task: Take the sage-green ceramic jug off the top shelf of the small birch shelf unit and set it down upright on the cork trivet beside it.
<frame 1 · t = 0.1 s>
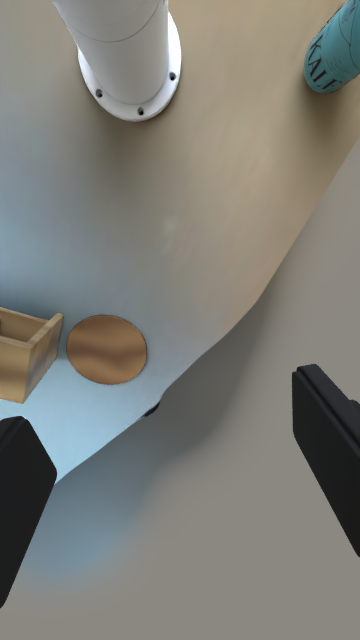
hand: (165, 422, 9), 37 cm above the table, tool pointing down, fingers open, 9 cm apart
beverage bottle: (320, 69, 34), on the table
shelf unit: (8, 324, 47), on the table
trivet: (107, 350, 50), on the table
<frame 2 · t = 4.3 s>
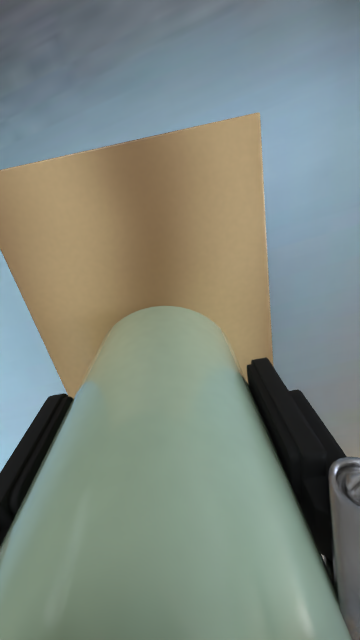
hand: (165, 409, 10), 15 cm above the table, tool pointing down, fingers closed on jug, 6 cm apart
shelf unit: (168, 290, 23), on the table
jug: (166, 368, 12), point 12 cm above the table, touching gripper, shelf unit
when the fingers open (3 cm above the table, at t = 12.1 s): jug stays where it is, resting on trivet.
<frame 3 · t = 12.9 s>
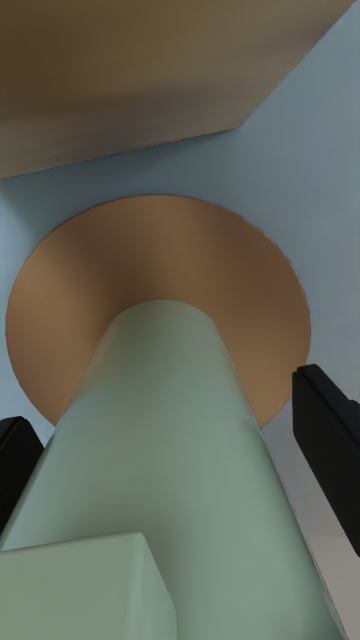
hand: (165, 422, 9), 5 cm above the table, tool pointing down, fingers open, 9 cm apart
trivet: (162, 353, 14), on the table
jug: (163, 359, 13), point 1 cm above the table, touching trivet
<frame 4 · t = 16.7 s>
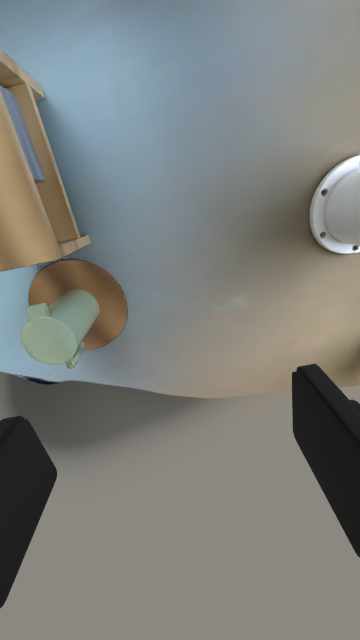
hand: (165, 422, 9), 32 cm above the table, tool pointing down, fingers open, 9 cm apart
shelf unit: (32, 180, 34), on the table
trivet: (79, 306, 42), on the table
jug: (78, 308, 41), point 1 cm above the table, touching trivet
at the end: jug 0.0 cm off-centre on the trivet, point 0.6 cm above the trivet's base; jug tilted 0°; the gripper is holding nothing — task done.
